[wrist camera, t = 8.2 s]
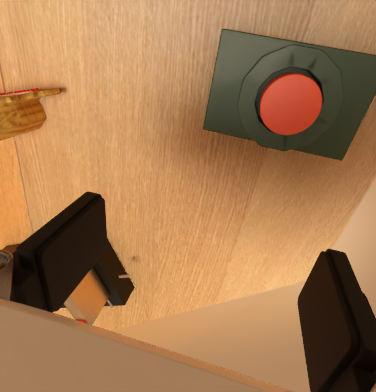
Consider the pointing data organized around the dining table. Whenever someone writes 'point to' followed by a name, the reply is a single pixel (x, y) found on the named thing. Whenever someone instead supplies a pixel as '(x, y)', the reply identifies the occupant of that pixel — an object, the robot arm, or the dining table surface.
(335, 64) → the button block
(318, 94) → the button
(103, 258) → the dial panel
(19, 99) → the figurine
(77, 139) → the dining table surface
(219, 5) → the dining table surface
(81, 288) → the tan block
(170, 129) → the dining table surface
